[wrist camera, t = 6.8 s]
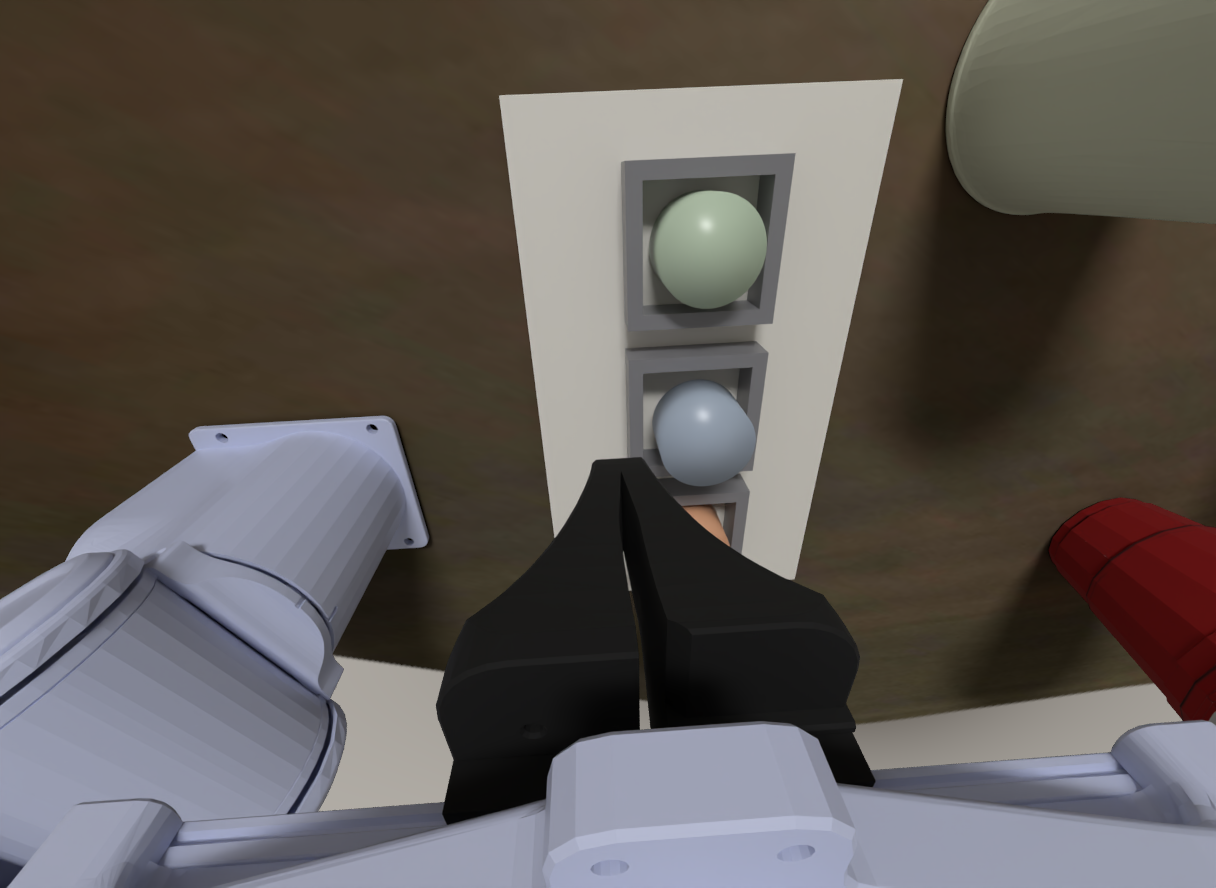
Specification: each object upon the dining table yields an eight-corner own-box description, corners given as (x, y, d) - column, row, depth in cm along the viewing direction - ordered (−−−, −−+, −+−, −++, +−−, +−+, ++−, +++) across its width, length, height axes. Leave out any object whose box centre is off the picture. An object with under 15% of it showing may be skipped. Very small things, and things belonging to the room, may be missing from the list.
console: (562, 582, 29) (560, 617, 26) (503, 99, 17) (491, 87, 15) (787, 567, 29) (805, 599, 27) (886, 84, 17) (933, 69, 15)
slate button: (651, 458, 22) (659, 489, 19) (652, 382, 20) (661, 406, 18) (733, 453, 22) (750, 483, 20) (742, 376, 20) (761, 400, 18)
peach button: (647, 553, 26) (654, 585, 24) (648, 498, 24) (654, 528, 22) (715, 548, 26) (727, 580, 24) (720, 493, 24) (734, 523, 22)
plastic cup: (1044, 465, 26) (1350, 656, 16) (1230, 454, 27) (1651, 633, 16) (976, 601, 32) (1171, 809, 21) (1131, 590, 32) (1398, 790, 22)
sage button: (648, 297, 19) (657, 311, 17) (649, 192, 17) (658, 194, 15) (740, 292, 19) (760, 306, 17) (750, 187, 17) (774, 188, 15)
